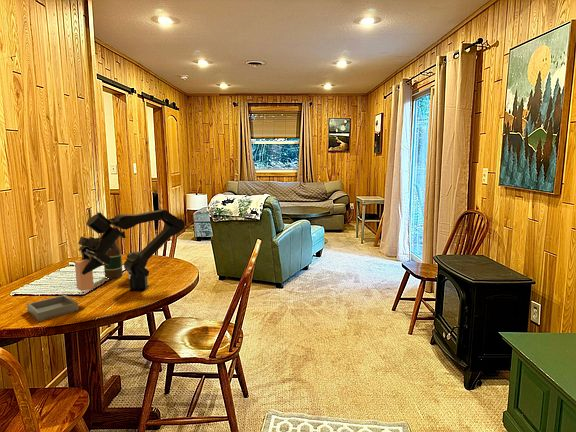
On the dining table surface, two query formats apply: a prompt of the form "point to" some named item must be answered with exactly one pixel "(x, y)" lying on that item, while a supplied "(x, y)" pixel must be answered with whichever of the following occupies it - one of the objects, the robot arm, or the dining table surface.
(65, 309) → the tote
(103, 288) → the dining table surface
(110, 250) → the beer bottle
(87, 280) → the carton
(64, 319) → the dining table surface
